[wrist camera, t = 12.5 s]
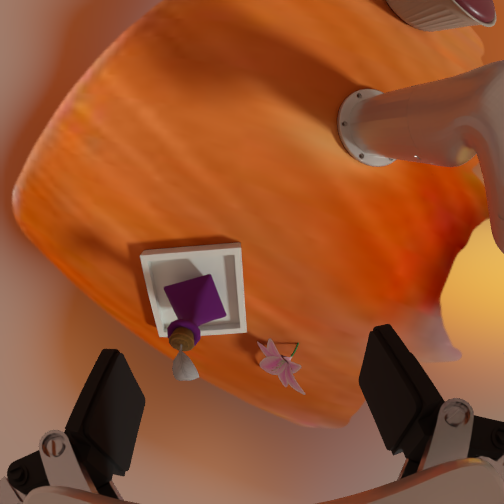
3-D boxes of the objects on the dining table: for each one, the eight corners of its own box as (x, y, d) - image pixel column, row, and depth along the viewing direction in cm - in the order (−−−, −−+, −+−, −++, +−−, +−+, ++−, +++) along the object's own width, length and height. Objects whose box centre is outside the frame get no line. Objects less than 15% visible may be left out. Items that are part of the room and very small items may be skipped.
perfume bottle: (166, 277, 41) (137, 354, 25) (211, 264, 41) (204, 340, 25) (184, 316, 44) (168, 399, 27) (226, 305, 44) (229, 388, 27)
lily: (271, 309, 47) (250, 350, 40) (331, 335, 45) (320, 379, 38) (255, 345, 55) (236, 381, 47) (307, 367, 52) (293, 406, 45)
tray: (240, 242, 41) (240, 247, 39) (245, 324, 47) (246, 332, 45) (144, 250, 40) (139, 255, 38) (161, 329, 46) (159, 337, 44)
